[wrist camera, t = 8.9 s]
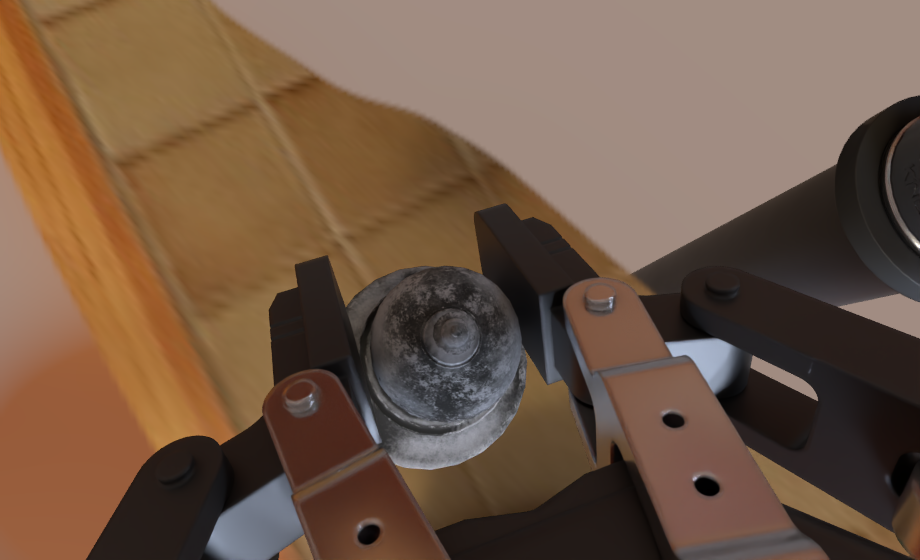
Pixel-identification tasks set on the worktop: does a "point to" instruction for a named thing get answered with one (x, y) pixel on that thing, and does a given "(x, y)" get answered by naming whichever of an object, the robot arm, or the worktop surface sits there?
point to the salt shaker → (438, 362)
